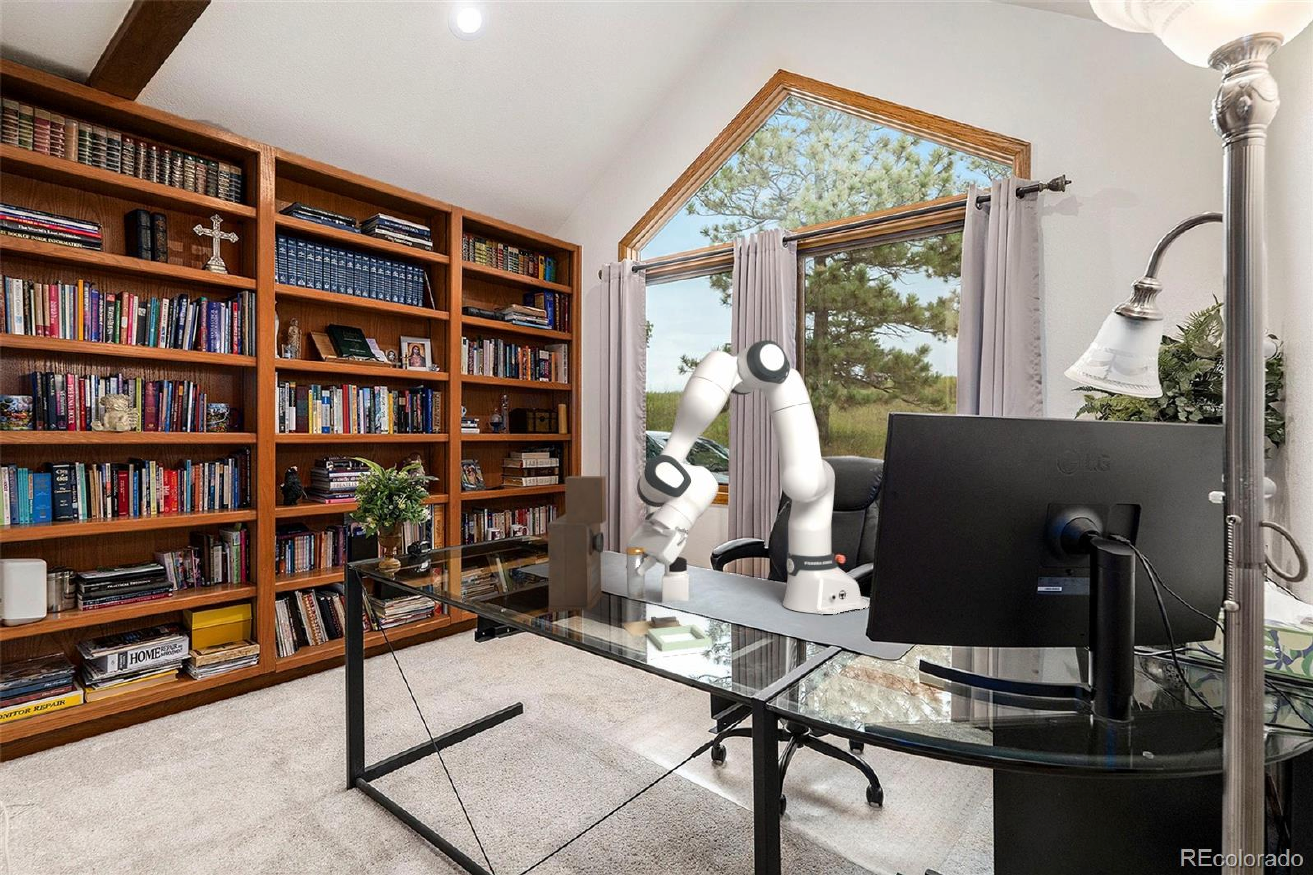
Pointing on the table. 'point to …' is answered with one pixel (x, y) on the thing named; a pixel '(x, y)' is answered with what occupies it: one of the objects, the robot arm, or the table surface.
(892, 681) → the table surface
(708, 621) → the table surface
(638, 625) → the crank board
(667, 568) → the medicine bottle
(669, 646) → the tray
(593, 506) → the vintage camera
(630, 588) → the glass spice jar
